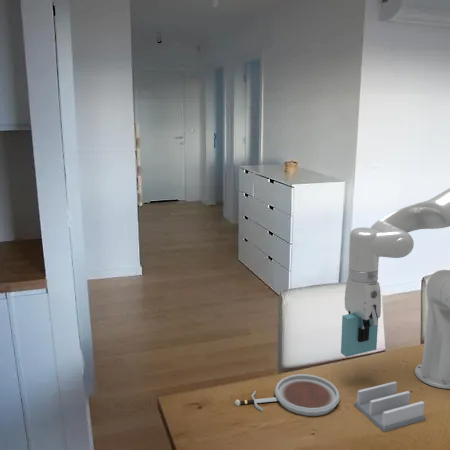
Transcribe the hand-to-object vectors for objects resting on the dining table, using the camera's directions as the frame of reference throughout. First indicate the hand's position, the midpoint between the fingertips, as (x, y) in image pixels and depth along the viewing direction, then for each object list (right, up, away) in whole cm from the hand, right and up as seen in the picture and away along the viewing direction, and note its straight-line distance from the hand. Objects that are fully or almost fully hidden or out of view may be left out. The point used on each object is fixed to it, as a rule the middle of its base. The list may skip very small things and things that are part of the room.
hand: (359, 338), depth 130 cm
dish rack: (+5, -16, -10) cm, 20 cm away
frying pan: (-20, -16, -5) cm, 26 cm away
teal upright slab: (0, -4, +1) cm, 4 cm away
